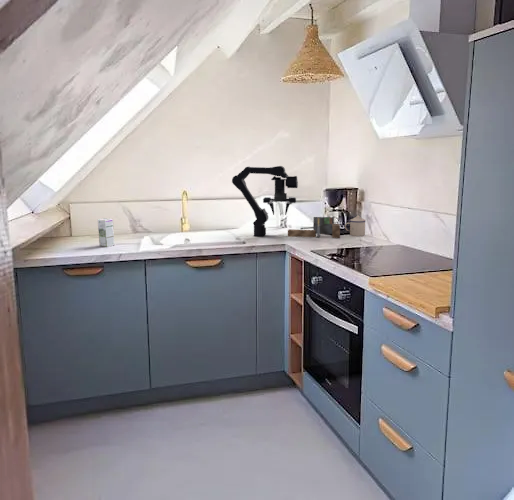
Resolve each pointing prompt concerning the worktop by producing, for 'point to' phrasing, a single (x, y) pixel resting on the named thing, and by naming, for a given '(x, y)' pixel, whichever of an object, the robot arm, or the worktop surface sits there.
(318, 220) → the gauge paddle
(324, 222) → the gauge housing
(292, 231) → the walnut bar
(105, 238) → the syrup box
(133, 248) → the worktop surface
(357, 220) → the teacup with lid
